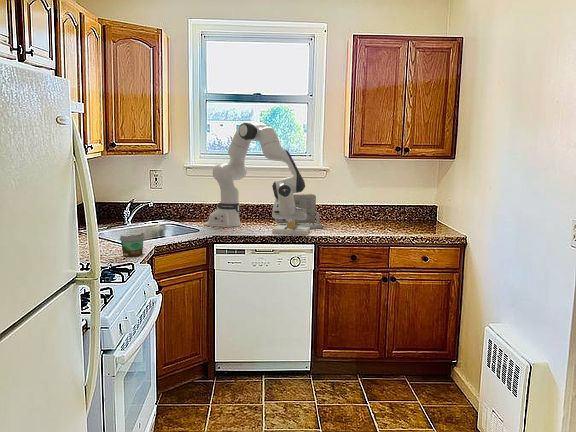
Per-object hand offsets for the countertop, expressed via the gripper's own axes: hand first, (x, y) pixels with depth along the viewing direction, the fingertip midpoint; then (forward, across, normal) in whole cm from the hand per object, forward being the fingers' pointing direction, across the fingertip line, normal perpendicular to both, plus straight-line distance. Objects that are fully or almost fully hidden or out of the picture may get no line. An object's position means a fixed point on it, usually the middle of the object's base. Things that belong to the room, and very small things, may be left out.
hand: (290, 221), depth 325 cm
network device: (+23, +2, -13) cm, 27 cm away
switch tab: (+4, 0, +1) cm, 4 cm away
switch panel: (+6, 0, +3) cm, 7 cm away
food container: (-54, +58, +63) cm, 101 cm away
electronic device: (+19, -9, -9) cm, 23 cm away
